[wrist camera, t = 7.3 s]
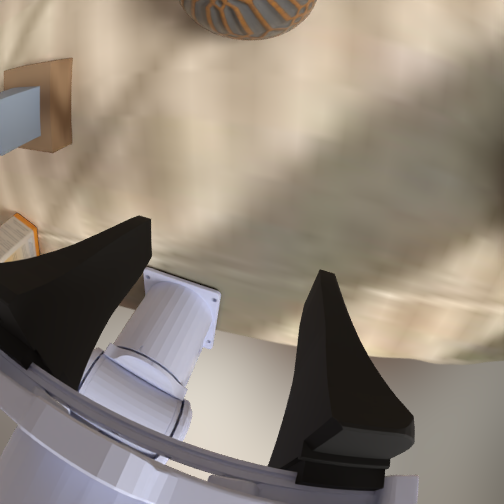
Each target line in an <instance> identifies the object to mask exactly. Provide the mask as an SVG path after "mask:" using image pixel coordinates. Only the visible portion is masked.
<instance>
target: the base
mask: <svg viewBox="0 0 504 504" xmlns="http://www.w3.org/2000/svg"><path fill="white" fill-rule="evenodd" d="M72 60H73V58H68V59H60V60H54V61H47V62H41V63H36V64H31V65H26V66H21V67H17V68H13V69H10V70H6V71H4V91H5V90H8V89H11V88H17V87H33V86H40V130H41V136H39V137H37V138H35V139H33V140H31V141H29V142H27V143H25V144H23V145H21V146H19V147H17V148H23V149H30V150H37V151H43V152H49V153H54V152H56V151H58V150H60V149H62V148H64V147H66V146H68V145H70V144H72V128H71V79H72Z"/></svg>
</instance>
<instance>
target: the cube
mask: <svg viewBox="0 0 504 504" xmlns="http://www.w3.org/2000/svg"><path fill="white" fill-rule="evenodd" d="M39 136H41V130H40V86H33V87H17V88H11V89H8V90H5V91H3V92H0V155H2V156H3V155H4V154H6V153H8V152H10V151H12V150H14V149H15V148H17V147H19V146H21V145H23V144H25V143H27V142H29V141H31V140H33V139H35V138H37V137H39Z"/></svg>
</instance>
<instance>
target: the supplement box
mask: <svg viewBox="0 0 504 504" xmlns="http://www.w3.org/2000/svg"><path fill="white" fill-rule="evenodd" d="M39 255H40V254H39V245H38V235H37V228H36V227H35V226H34V225H33V224H32V223H30V222H29V221H27V220H26V219H25V218H23V217H22V216H21V215H20V214H18V213H16V214H15V215H14V216H12V217H11V218H10V219H9V220H7V221H6V222H5V223H4V224H2V225H1V226H0V263H2V262H11V261H17V260H22V259H27V258H32V257H36V256H39Z"/></svg>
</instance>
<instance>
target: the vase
mask: <svg viewBox="0 0 504 504" xmlns="http://www.w3.org/2000/svg"><path fill="white" fill-rule="evenodd" d="M179 2H180V4H181V6H182V7H183V9H184V10H185V11H186V13H187V14H188V15H189V16H190V17H191V18H192V19H193V20H194V21H195V22H196V23H198V24H199V25H200V26H202V27H203V28H205V29H207V30H209V31H211V32H213V33H215V34H218V35H221V36H224V37H227V38H232V39H238V40H263V39H269V38H273V37H276V36H279V35H282V34H284V33H286V32H288V31H290V30H292V29H293V28H295V27H296V26H298V25H299V24H300V23H301V22H302V21H304V19H305V18H306V17H307V16H308V15H309V14H310V12H311V11H312V9H313V7H314V5H315V3H316V0H179Z"/></svg>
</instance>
